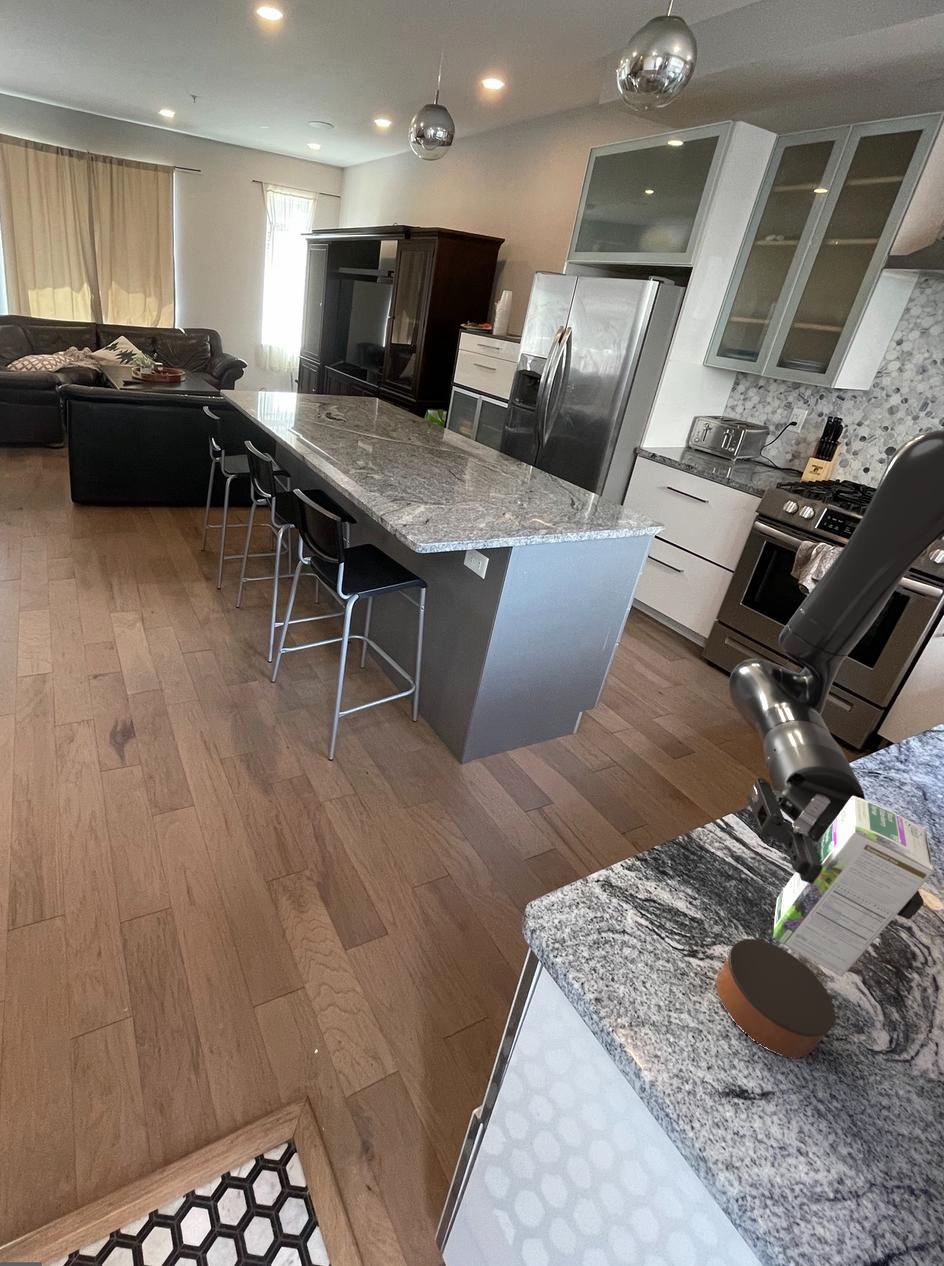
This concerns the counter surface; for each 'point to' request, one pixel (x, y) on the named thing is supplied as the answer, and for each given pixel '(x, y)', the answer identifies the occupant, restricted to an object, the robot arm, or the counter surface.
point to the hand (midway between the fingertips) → (860, 893)
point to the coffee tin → (775, 998)
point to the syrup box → (853, 885)
